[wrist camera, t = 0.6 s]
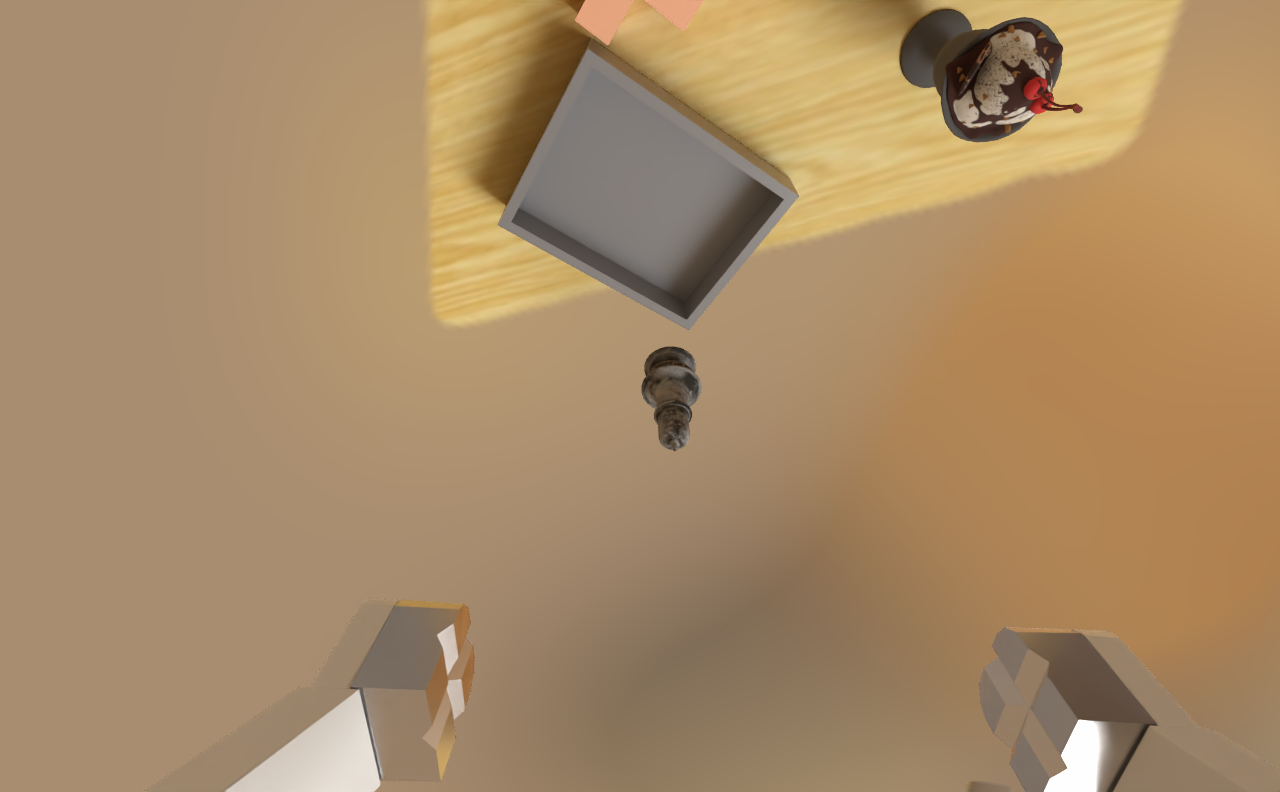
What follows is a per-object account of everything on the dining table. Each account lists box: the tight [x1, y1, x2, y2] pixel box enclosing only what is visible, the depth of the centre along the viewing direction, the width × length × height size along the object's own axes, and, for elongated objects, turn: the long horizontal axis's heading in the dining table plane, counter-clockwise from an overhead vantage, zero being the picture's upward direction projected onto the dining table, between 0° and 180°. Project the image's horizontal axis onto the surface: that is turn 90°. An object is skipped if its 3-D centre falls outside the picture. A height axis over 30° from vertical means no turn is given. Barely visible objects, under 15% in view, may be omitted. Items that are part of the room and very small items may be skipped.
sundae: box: [901, 10, 1083, 142], centre depth 38 cm, size 7×7×15 cm
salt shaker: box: [642, 347, 701, 451], centre depth 57 cm, size 6×6×12 cm
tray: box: [498, 38, 799, 330], centre depth 49 cm, size 15×19×4 cm
